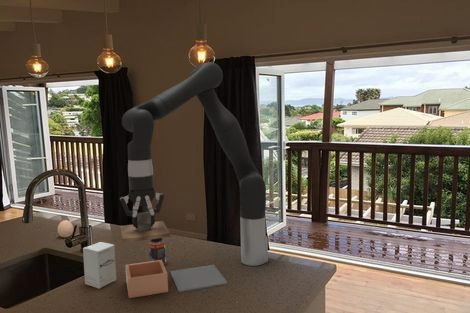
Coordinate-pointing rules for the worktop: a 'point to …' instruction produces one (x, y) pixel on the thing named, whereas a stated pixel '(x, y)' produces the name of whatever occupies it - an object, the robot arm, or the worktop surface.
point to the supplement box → (99, 264)
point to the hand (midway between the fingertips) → (143, 226)
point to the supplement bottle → (157, 250)
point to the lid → (144, 229)
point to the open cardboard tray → (146, 278)
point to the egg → (65, 228)
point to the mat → (197, 278)
